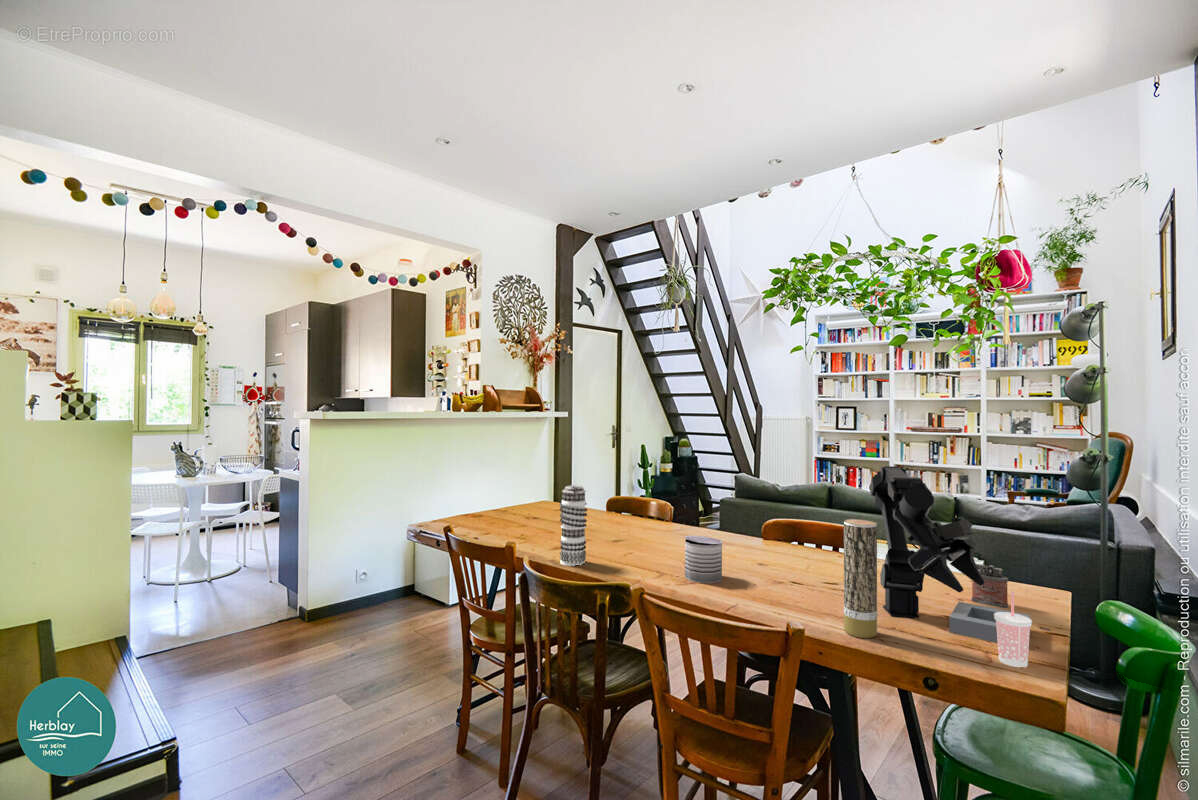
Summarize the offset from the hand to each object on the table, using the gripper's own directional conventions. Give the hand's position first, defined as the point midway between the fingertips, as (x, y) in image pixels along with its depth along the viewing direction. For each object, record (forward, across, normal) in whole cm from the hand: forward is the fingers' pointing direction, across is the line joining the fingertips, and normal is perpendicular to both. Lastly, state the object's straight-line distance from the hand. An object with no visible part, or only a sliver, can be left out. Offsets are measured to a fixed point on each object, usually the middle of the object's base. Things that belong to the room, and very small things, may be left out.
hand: (972, 587), depth 118 cm
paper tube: (-3, -13, +22) cm, 25 cm away
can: (-39, -14, +57) cm, 70 cm away
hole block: (+7, +14, +11) cm, 20 cm away
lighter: (+1, +36, +18) cm, 40 cm away
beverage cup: (+14, 0, +4) cm, 15 cm away
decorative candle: (-63, -39, +82) cm, 110 cm away
